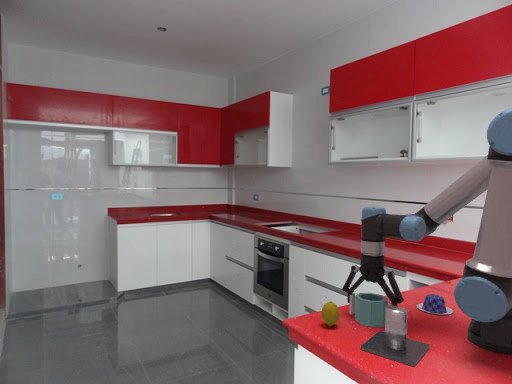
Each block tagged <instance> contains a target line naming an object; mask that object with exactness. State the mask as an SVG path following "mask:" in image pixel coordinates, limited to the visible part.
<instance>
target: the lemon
mask: <svg viewBox="0 0 512 384" xmlns="http://www.w3.org/2000/svg"><path fill="white" fill-rule="evenodd" d="M321 319H322V321H323V322H324V323H325V324H326V325H328V327H332V326H333V325H336V324H337V323H338V322H339V319H340V310H339V307H338V305H337V304H336V303H335V302H333V301H332V300H330V301H328V302H325V303H324V304H323V306H322V309H321Z"/></svg>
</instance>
